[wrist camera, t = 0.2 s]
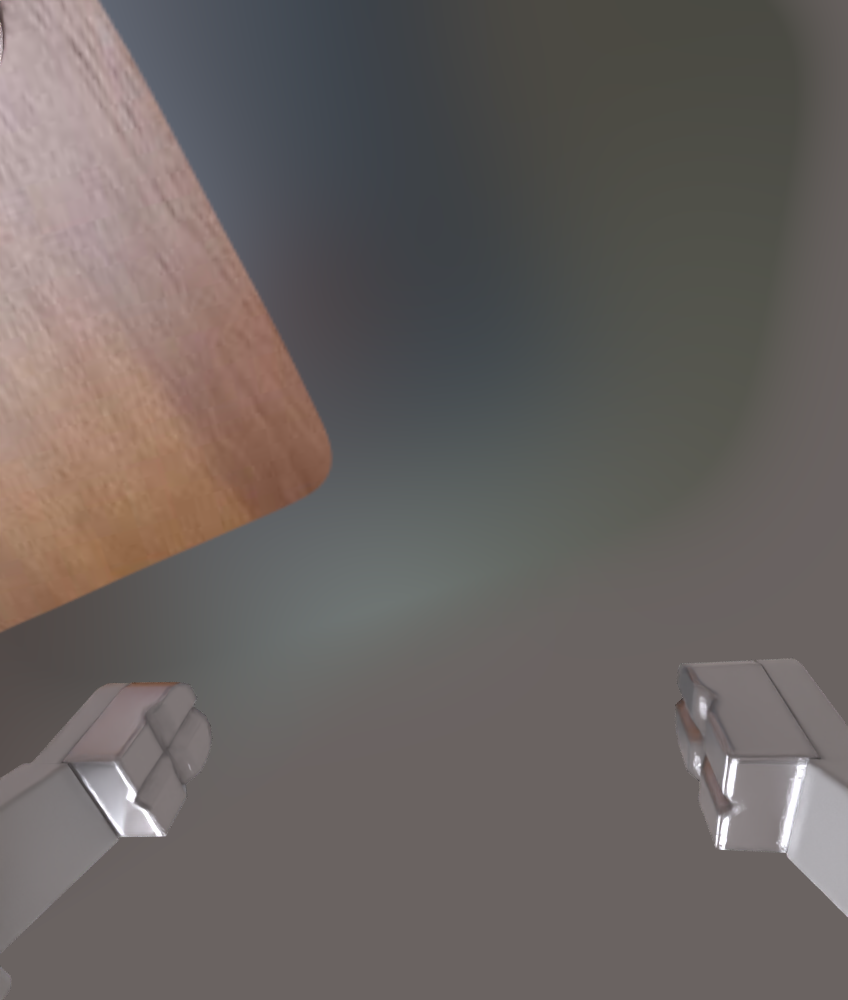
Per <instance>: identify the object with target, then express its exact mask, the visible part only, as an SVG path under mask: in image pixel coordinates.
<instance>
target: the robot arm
mask: <svg viewBox="0 0 848 1000" xmlns="http://www.w3.org/2000/svg"><path fill="white" fill-rule="evenodd" d="M677 684H678V687H679V689H680V692H681V694H682V697H683V698H682V699H681V700H680V701H679V702H678V703H677V704H676V709H675V724H676V731H677V739H678V743H679V747H680V751H681V754H682V757H683V760H684V763H685V765H686V769H687V771H688V772H689V773H690V774H691V775H693V776H694V777H695V778H696V779H697V780H698V781H699V782H700V786H699V798H698V801H699V804H700V807H701V809H702V812H703V814H704V817H705V820H706V823H707V825H708V828H709V831H710V833H711V836H712V838H713V841H714V844H715V847H716V849H725V850H744V851H765V852H783V853H787V857H788V858H789V859H790V860H791V861H792V862H793V863H794V864H795V865H796V866H797V867H798V868H799V869H800V870H801V871H802V872H803V873H804V874H805V875H806V876H807V877H808V878H809V879H810V880H811V881H812V882H813V883H814V884H815V885H816V886H817V887H818V888H819V889H820V890H821V891H822V892H823V893H824V894H825V895H826V896H827V897H828V898H829V899H830V900H831V901H832V902H833V903H834V904H835V905H836V906H837V907H838V908H839V909H840V910H841V911H842V912H843V913H844V914H845V915H846V916H847V917H848V726H847V725H846V723H845V722H844V721H843V719H842V718H841V717H840V715H839V714H838V712H837V711H836V710H835V708H834V707H833V706H832V704H831V703H830V702H829V700H828V699H827V698H826V696H825V695H824V694H823V692H822V691H821V690H820V688H819V687H818V685H817V684H816V683H815V681H814V680H813V679H812V678H811V676H810V675H809V673H808V672H807V671H806V669H805V668H804V667H803V665H802V664H801V663H800V662H798V661H796V660H795V659H772V660H755V661H731V662H709V663H686V664H681V665H680V667H679V669H678V676H677ZM196 700H197V696H196V694H195V692H194V691H193V689H192V687H191V685H190V684H187V683H181V682H158V683H156V682H153V683H152V682H151V683H108V684H106V685H104V686H103V687H100V688H98V689H97V690H96V691H95V692H94V693H93V694H92V696H91V697H90V698H89V699H88V700H87V701H86V702H85V704H84V705H83V706H82V707H81V708H80V709H79V710H78V711H77V713H76V714H75V715H74V716H73V717H72V718H71V719H70V720H69V722H68V723H67V724H66V725H65V726H64V727H63V728H62V729H61V731H60V732H59V733H58V734H57V735H56V736H55V737H54V739H53V740H52V741H51V742H50V743H49V744H48V746H46V748H45V749H44V750H43V751H42V752H41V753H40V754H39V755H38V757H37V758H36V759H35V760H34V761H33V762H32V763H28V764H22V765H20V766H19V767H17V768H16V769H15V770H13V771H11V772H9V773H8V774H6V775H5V776H3V777H1V778H0V953H2V952H3V951H4V950H5V949H6V948H7V947H8V946H9V945H10V944H11V943H12V942H13V941H14V940H15V939H16V938H17V937H18V936H19V935H20V934H21V933H22V932H23V931H24V930H26V928H28V926H30V925H31V924H32V923H33V922H34V921H35V920H36V919H37V918H38V917H39V916H40V915H41V914H42V913H43V912H44V911H45V910H46V909H47V908H48V907H49V906H50V905H51V904H53V903H54V902H55V901H56V900H57V899H58V898H59V897H60V896H61V895H62V894H63V893H64V892H65V891H66V890H67V889H68V888H69V887H70V886H71V885H72V884H73V883H74V882H75V881H76V880H77V879H79V878H80V877H81V876H82V875H83V874H84V873H85V872H86V871H87V870H88V869H89V868H90V867H91V866H92V865H93V864H94V863H95V862H96V861H97V860H98V859H99V858H101V857H102V855H104V854H105V853H106V852H107V851H108V850H109V849H110V848H111V847H112V846H113V845H114V844H115V843H116V842H117V841H118V840H119V838H118V837H128V836H129V837H136V836H137V837H138V836H166V834H167V832H168V830H169V829H170V827H171V825H172V823H173V821H174V820H175V818H176V816H177V814H178V812H179V811H180V809H181V807H182V805H183V803H184V801H185V800H186V798H187V790H186V784H187V783H188V782H189V781H190V780H192V779H193V778H194V777H195V776H196V775H197V774H199V773H200V772H201V770H202V768H203V767H204V765H205V762H206V761H207V759H208V757H209V752H210V748H211V743H212V731H211V725H210V723H209V721H208V719H207V717H206V715H205V714H203V713H202V712H201V711H199V710H198V709H196V708H195V707H194V705H195V702H196ZM10 989H11V976H10V975H9V974H8V973H7V972H6V971H5V970H4V969H3V968H2V967H1V966H0V1000H4V998H5V996H6V995H7V993H8V992H9V990H10Z"/></svg>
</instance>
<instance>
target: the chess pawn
mask: <svg viewBox="0 0 848 1000" xmlns="http://www.w3.org/2000/svg"><path fill="white" fill-rule="evenodd" d="M2 52H3V30H2V26H1V21H0V62H1V57H2Z"/></svg>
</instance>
